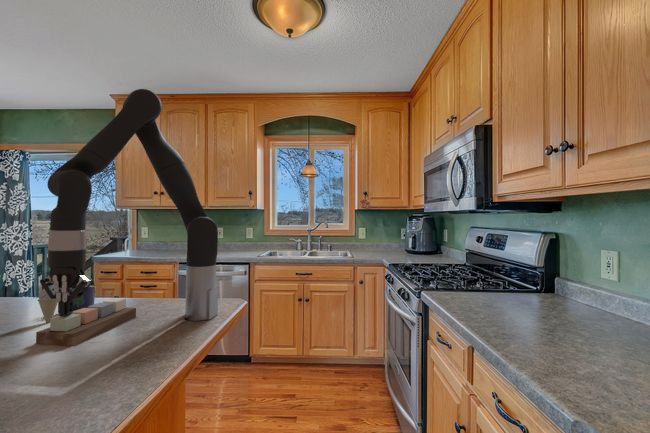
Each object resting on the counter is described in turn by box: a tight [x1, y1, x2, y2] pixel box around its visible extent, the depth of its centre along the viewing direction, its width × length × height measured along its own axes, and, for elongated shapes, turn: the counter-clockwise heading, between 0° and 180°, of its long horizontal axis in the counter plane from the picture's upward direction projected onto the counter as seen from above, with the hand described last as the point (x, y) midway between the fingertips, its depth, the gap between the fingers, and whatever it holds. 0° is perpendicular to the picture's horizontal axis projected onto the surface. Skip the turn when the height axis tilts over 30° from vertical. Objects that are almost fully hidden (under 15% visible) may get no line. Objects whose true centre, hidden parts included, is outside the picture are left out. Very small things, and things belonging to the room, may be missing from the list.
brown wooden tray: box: [34, 306, 139, 348], centre depth 87 cm, size 11×23×4 cm, turn 175°
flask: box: [69, 285, 96, 311], centre depth 106 cm, size 9×3×11 cm, turn 88°
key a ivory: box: [102, 297, 127, 312], centre depth 95 cm, size 4×4×3 cm
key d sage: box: [49, 314, 81, 332], centre depth 79 cm, size 4×4×3 cm
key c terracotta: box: [72, 308, 98, 324], centre depth 84 cm, size 4×4×3 cm
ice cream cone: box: [37, 288, 58, 324], centre depth 92 cm, size 5×5×15 cm
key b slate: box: [88, 302, 113, 318], centre depth 90 cm, size 4×4×3 cm
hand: (65, 315), depth 79 cm, fingers closed
